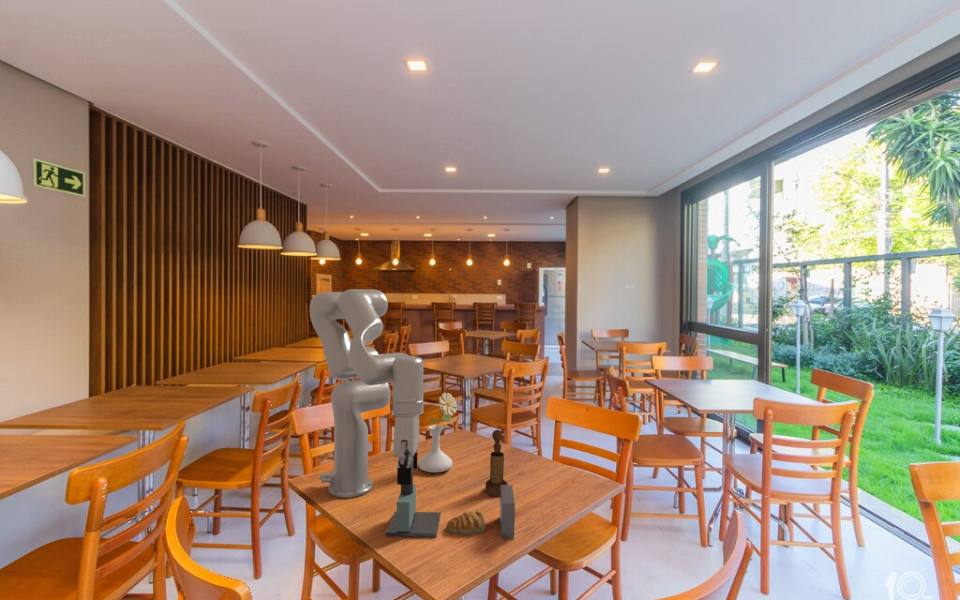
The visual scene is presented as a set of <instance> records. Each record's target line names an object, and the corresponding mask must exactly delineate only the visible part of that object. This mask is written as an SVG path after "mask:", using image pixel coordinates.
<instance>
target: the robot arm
mask: <svg viewBox="0 0 960 600" xmlns="http://www.w3.org/2000/svg"><path fill="white" fill-rule="evenodd" d="M388 306H389V303H388V298H387V297H386V295H385V294H384V293H383V291H381V290H378V289H371V288H370V289H364V288H362V289H361V288H352V289H346V290H345V291H327V292H320V293H317V294H315V295H313V297H312V299H310V302H309V316H310V321H311V323H312V326H313V329H314V330H315V332H316V335H317V336H318V338H319V340H320V343H321V346H322V350H323V353H324V357H325V362H326V365H327V369H328V372H329V374H330V376H331V377H332V378H333V379H334V380H336V381H337V380H338V381H345V380H348V381H345V382H342V383H339V384H337V385H336V386H335V387H334V388H333V389H332V391H331V394H330V402H331V408H332V413H333V414H332V415H333V422H334V423H333V427H334V428H333V430H334V431H333V433H334V435H333V438H334V439H333V440H334V441H333V442H334V443H333V445H334V447H333V461H334V462H333V471H332V472H331V473H330V472H329V473H328V472H321V473H320V475H319V480H320V482H321V483H323V484H326V483H328V486H327V487H328V488H327V492H328V494H330V496H332V497H337V498H345V499H346V498H355V497H359V496H362V495H364V494H367V493H369V492H370V491H371V490H372V489H373V486H374V484H373V480H372V479H371V478H369V477H368V472H369V471H368V466H369V465H368V463H369V462H368V460H369V456H368V455H369V450H368V449H369V427H368V424H367V422H366V420H364V419H363V417H362V416H361V414H363V413H366V412H371V411H376V410H380V409H383V408H386V407H387V406H388V405H389V403H390V401H391V397H392V415H393V416H395V418H394V419H395V420H394V431H393V449H392V450H393V452H392V456H393V457H394V458H397V457H398V458H397V459H398V461H397V468H396V474H397V475H396V477H397V481H396V484H397V485H399V486H401V485H410V484H411V467H410V461H411V457H413V470H414V469H417V468H418V452H417V451H418V447H419V442H420V441H419V440H420V415H422V414H423V413H424V360H423V359H422V358H421V357H420V356H412V355H409V354H408V353H404V352H390V353H389V352H388V353H387V352H386V353H381V354H380V353H379V352H378V351H377V350H376V349H375V348H374V347H371V346H366V345H368V344H370V343H372V342H374V341H375V340H376V339H377V338H379V337H380V336H381V334H382V332H383V330H384V322H383V320H382V319H381V317H383V316H384V315H385V314H387V311H388V309H389V307H388ZM337 320H345V322H346V324H347V326H348V327H349V329H350V331H351V333H352V335H353V336H352V337H350V334H349V332H348V331H347V329H346V328H345V327H344V326H343V325H342V324H340V322H338V321H337ZM353 379H356V380H353ZM389 383H392V395H391V387H390V385H389ZM405 458H408V461H407V460H406V459H405Z"/></svg>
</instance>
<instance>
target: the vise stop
mask: <svg viewBox="0 0 960 600" xmlns="http://www.w3.org/2000/svg"><path fill="white" fill-rule="evenodd" d="M499 498H500V501H499V506H500V507H499V521H500V534H501V535H500V537H501V540H515V524H516V523H515V520H516V519H515V517H516V516H515V515H516V513H515V512H516V510H515V509H516V505H515V504H516V502H515V495H514V489H513V485H512V484H508V485H501V488H500V496H499Z"/></svg>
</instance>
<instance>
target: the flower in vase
mask: <svg viewBox="0 0 960 600" xmlns="http://www.w3.org/2000/svg"><path fill="white" fill-rule="evenodd" d="M457 403H458V402H457V400H456V398H455V397H453V395H452V394H451V393H449V392H447V393H446V392H443V393H442V394H441V395H440V396H439V399H438V404H439V409H440V411H441V416H440V419H439V420H438V419H437V420H436V419H433V417H432V418H431V417H430V422H432V423H436V424H433V425H430V426H428V428H427V429H429V432H430V434H431V437H432V438H431V443H432V445H431V446H432V447H431V450H430V451H428V452H427V453H426V454H425V455H424V456H422V457H421V458H420V459H419V461H418V462H417V467H418V468H419V469H420V470H422V471H424V472H427V473H433V474H434V473H442V472H445V471H448V470H450V469H451V467H452V466H453V465H454V463H453V460H452V459H451V457H449V456H448V455H447V454H446V453H445V452H443V451H442V450H441V448H440V437H441V433H442V431H443V429H444V426H443V425H439V424H440V422H441V420H443V421H444V422H445V423H448V422H450V421H451V420H453V416H454V414H456V413H457V411H458V404H457Z"/></svg>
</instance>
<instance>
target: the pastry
mask: <svg viewBox="0 0 960 600" xmlns="http://www.w3.org/2000/svg"><path fill="white" fill-rule="evenodd" d="M486 529H487V527H486V522H485V518H484V514H483V513H482V511H480V510H476V511H468V512H467V511H465V512H463V513H462V514H460V515H458V516H455V517H453V518H452V519H450V520H448V521H447V523H446V531H448V532H449V533H451V534H452V535H462V536H468V535H477V534H482V533H484V532H485V531H486Z"/></svg>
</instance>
